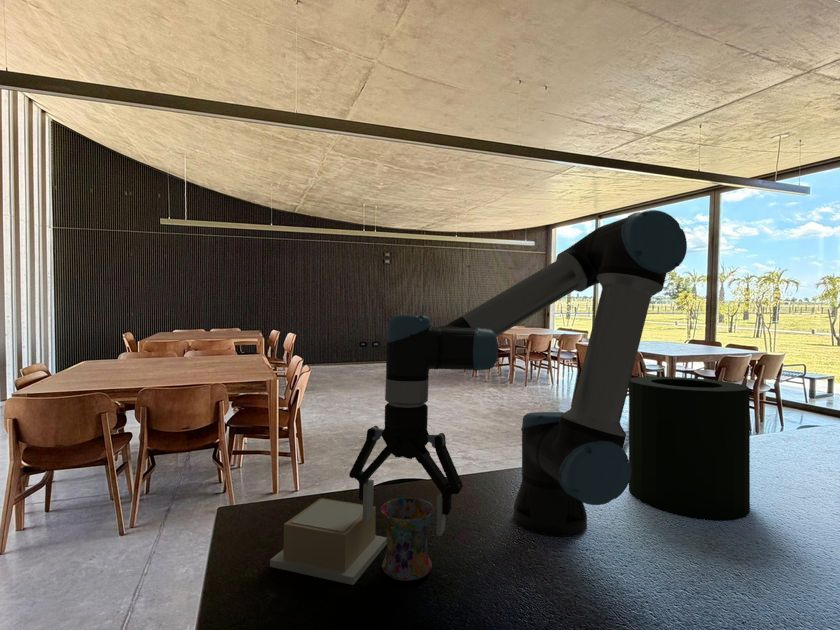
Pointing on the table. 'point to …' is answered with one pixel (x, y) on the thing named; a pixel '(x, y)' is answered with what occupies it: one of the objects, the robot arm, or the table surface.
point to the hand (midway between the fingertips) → (403, 525)
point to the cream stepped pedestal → (330, 542)
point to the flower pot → (690, 446)
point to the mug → (407, 538)
